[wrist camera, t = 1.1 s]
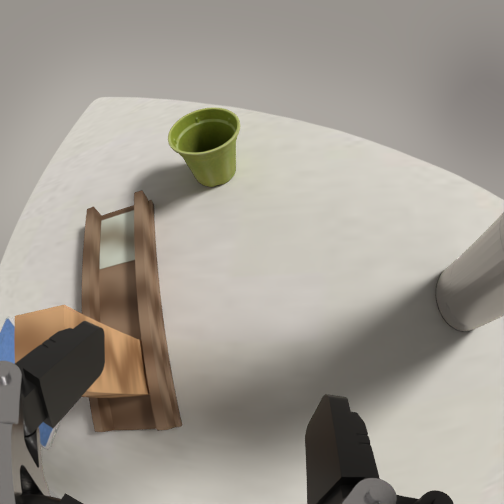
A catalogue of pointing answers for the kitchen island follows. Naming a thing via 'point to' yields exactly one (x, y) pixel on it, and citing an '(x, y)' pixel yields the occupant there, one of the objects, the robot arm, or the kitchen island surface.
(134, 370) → the block
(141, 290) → the chute
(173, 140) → the plant pot
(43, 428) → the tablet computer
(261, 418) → the kitchen island surface
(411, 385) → the kitchen island surface
